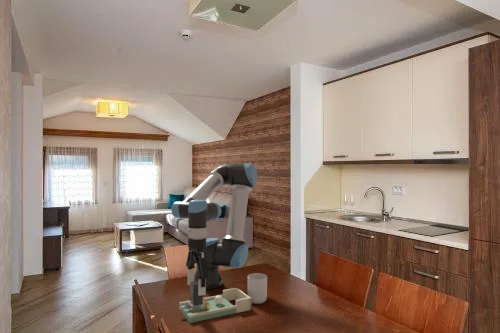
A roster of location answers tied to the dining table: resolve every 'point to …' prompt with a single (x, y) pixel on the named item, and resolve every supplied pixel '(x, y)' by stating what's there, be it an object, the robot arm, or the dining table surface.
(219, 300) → the ball
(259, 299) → the mug
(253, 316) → the dining table surface
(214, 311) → the pitch
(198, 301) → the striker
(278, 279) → the dining table surface
